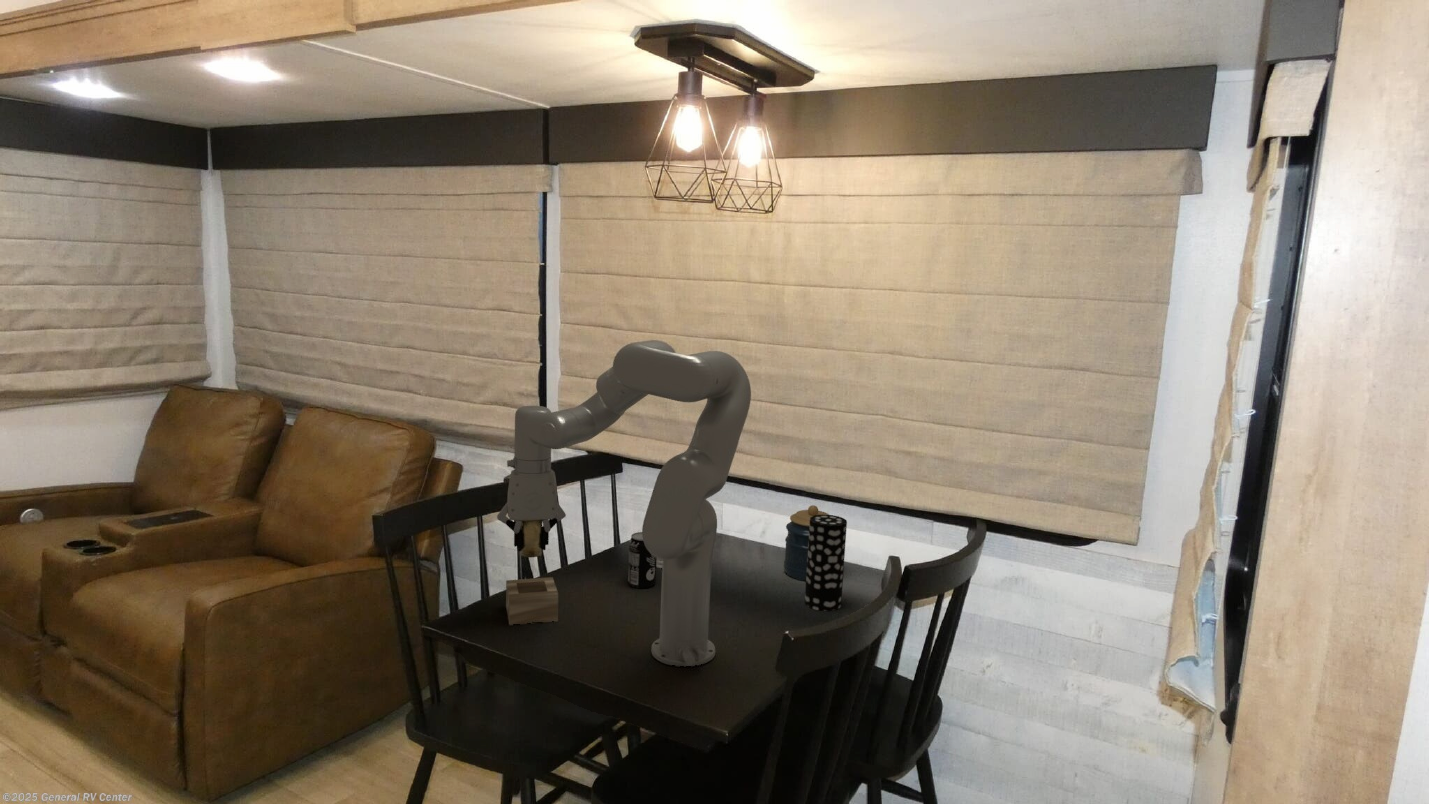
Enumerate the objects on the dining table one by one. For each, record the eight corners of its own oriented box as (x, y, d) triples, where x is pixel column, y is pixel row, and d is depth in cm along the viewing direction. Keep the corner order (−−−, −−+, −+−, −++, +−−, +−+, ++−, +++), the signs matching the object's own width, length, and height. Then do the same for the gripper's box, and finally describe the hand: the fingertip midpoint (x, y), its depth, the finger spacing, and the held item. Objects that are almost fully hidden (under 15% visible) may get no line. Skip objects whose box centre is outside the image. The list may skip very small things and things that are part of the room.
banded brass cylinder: (542, 556, 178) (543, 520, 177) (521, 558, 177) (522, 521, 176) (540, 549, 183) (541, 514, 181) (519, 550, 181) (520, 515, 180)
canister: (834, 566, 219) (838, 500, 216) (835, 584, 207) (840, 514, 204) (784, 562, 221) (787, 496, 218) (782, 580, 208) (786, 511, 205)
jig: (557, 621, 179) (558, 594, 178) (509, 625, 176) (509, 598, 175) (552, 602, 188) (552, 577, 187) (506, 606, 185) (506, 580, 184)
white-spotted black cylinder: (813, 594, 200) (819, 512, 197) (846, 602, 196) (852, 519, 192) (798, 605, 193) (803, 520, 190) (832, 614, 189) (838, 527, 185)
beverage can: (657, 580, 204) (659, 532, 202) (653, 590, 198) (654, 541, 196) (631, 578, 205) (632, 530, 203) (625, 588, 198) (626, 539, 197)
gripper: (492, 470, 171) (491, 557, 174) (575, 468, 176) (573, 552, 179) (490, 461, 178) (489, 545, 181) (570, 460, 183) (568, 541, 186)
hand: (531, 547), depth 180 cm, fingers closed on banded brass cylinder, 4 cm apart
